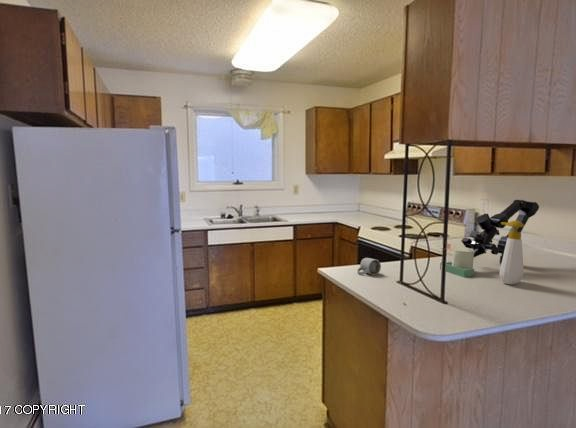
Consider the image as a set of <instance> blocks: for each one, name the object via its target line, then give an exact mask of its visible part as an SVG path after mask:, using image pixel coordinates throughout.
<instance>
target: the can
mask: <svg viewBox="0 0 576 428" xmlns="http://www.w3.org/2000/svg"><path fill="white" fill-rule="evenodd" d="M453 254H454V257H453V266H455V267H459V268H462V269H469V268H473V269H474V259H475V257H474V250H473V249H470V248H466V247H454V253H453Z"/></svg>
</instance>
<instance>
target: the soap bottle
mask: <svg viewBox="0 0 576 428" xmlns="http://www.w3.org/2000/svg"><path fill="white" fill-rule="evenodd" d="M501 224H502V225H506V226H508V227H511V228H512V227H514V229H513V231H510V230H509V231H510V233H509V232H508V233H509V237H508V238H507V242H506V246H505V250H504V255H503V259H502V263H501V264H500V267H499V278H500V279H501V281H502V283H504V284H505V285H509V286H512V285H517V284H519V283H520V282H521V281H522V279H523V276H524V272H525V271H524V257H523V256H524V254H523V253H524V252H523V241H522V240H523V239H522V232H521V233H520V232H517V227H525V226H524V225H523V223H521V222H519V221H516V220H511V221H508V223H506V222H501Z"/></svg>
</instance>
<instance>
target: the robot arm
mask: <svg viewBox="0 0 576 428" xmlns="http://www.w3.org/2000/svg"><path fill="white" fill-rule="evenodd" d="M539 208H540V205H539V203H538V202H536V201H526V200H524V199H515V200H513V202H512V203H511V204H509V206H507V207H506V208H504V209H503V210H502V211H501V212H500V213H496V214H494V215H492V216H490V215H489V213H483V214H481V215H479V216H477V217H476V219H475V222H476V223H477V225H478V226H479V228H480V229H481V230H483V231H481V232H480V231H476V230H471V232H470V234H469V237H470V238H468V237H463V238H462V239H461V241H460V242H461V243H462V244H463V246H464V248H469V249H473V250H474V258H476V257H478V256H481V255H483V254H487V251H489V250H490V253H491V254H492V255H494V256H495V255H498V254H501V255H500V256H499V264H500V265H501V263H502V259H503V255H504V250H505V246H506V242H507V238H508V237H509V233H510V231H513V229H514V227H512V226H511V228H510V229H509V232H508V233H507V235H505V236H503V235H502V236H501V237H500V239H499V240H498V241H497V244H496V243H493V242H494V241H493V239H494V237H495V236H500V230H499V229H504V228H506V226H507V225H502V224H501V222H506V223H508V222H509V219H511V218H512V217H513V216H515V214H516V213H517V212H518V216H516V219H515V221H519V222H521V223H523V225H524V227H525V225H526V224H527V222H528V221H529V219H530V218H531V217H533V216H535V215H536V214H537V212H538V211H539ZM524 227H517V232H520V233H521V234H522V231H523V230H524ZM471 238H473V240H472V239H471Z"/></svg>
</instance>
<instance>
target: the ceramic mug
mask: <svg viewBox="0 0 576 428" xmlns="http://www.w3.org/2000/svg"><path fill="white" fill-rule="evenodd" d="M359 266H360V267H359V268H357V274H358V275H360V276H361V275H362V276H363V275H366V274H369V275H372V276H375V275H378V274H379V273H380V272H381V268H382V267H381V266H382V265H381V262H380V260H378V259H376V258H375V259H374V258H370V257H364V258H362V259H361V261H360V264H359Z"/></svg>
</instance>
